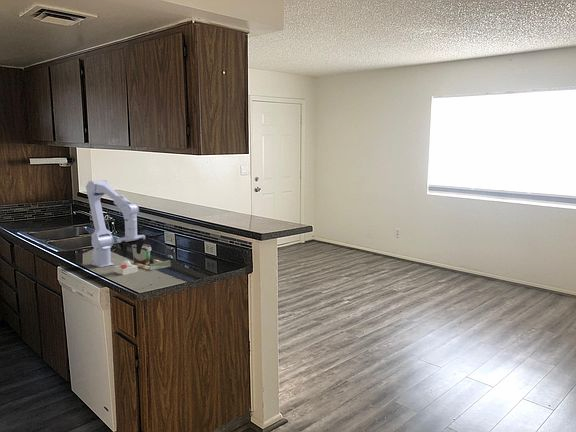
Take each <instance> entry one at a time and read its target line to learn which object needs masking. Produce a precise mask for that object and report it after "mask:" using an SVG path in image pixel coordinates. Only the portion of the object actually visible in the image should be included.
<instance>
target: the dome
mask: <svg viewBox="0 0 576 432" xmlns="http://www.w3.org/2000/svg"><path fill="white" fill-rule="evenodd" d="M122 264H126V268H127V267H130V266H131V264H132V263H131V261H130V260H129V259H123V260H122V261H121V263H120V265H122Z"/></svg>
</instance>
